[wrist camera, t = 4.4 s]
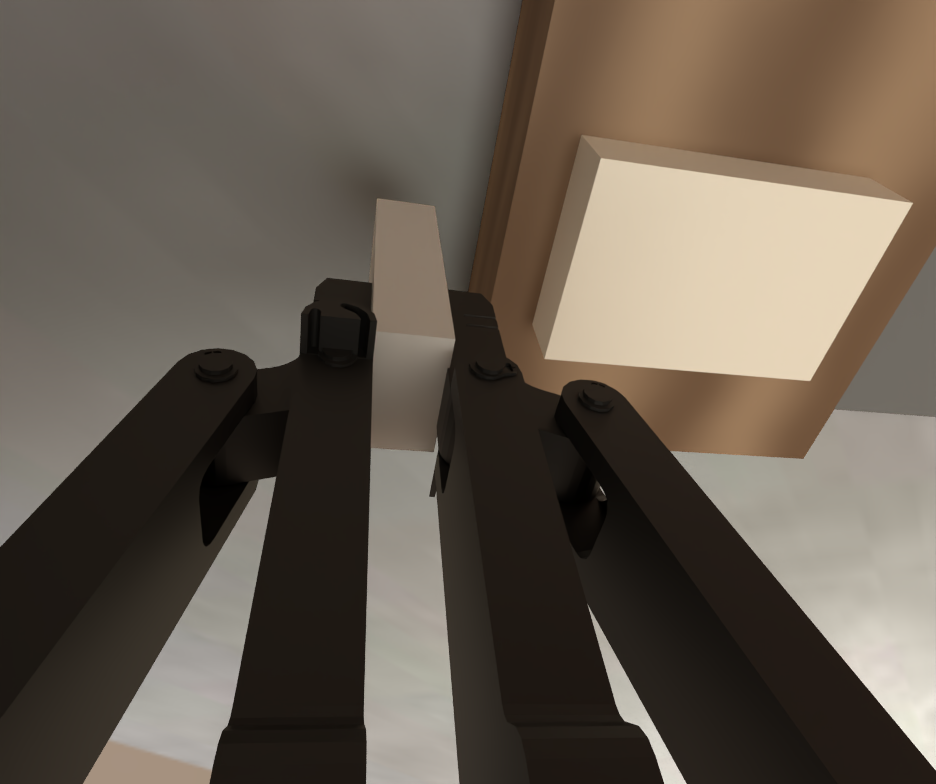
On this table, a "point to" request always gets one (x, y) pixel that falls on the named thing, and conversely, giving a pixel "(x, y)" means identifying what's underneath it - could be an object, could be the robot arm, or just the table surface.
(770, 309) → the tile
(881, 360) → the mat
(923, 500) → the table surface
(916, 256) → the deck
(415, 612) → the table surface
